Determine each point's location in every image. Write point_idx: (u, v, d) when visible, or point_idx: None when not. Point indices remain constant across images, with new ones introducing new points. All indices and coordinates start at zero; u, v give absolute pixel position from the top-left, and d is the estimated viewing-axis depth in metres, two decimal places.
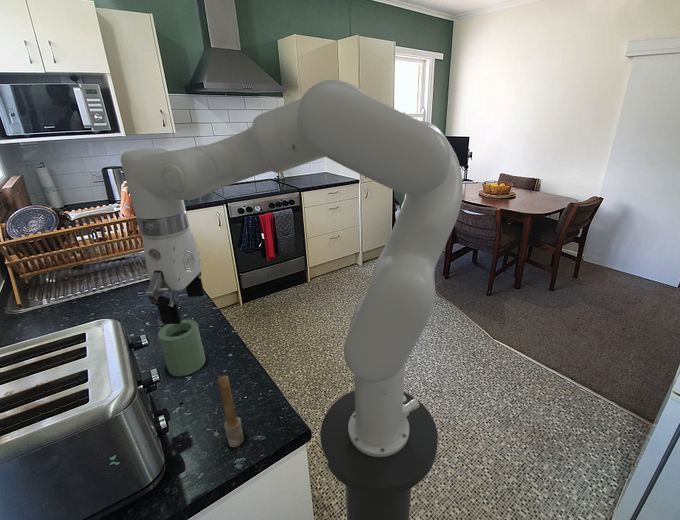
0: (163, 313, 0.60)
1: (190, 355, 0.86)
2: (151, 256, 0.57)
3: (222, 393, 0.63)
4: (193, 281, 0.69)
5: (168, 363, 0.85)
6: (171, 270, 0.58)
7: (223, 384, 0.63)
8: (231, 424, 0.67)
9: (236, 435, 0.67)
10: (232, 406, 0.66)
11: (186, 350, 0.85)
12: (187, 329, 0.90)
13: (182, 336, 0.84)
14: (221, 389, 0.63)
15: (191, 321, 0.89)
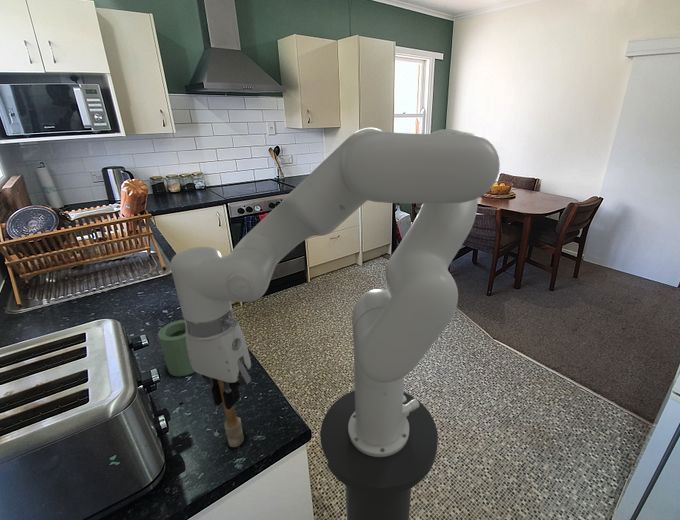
0: (233, 396, 0.63)
1: None
2: None
3: (222, 393, 0.63)
4: None
5: (168, 363, 0.85)
6: (247, 350, 0.61)
7: None
8: (231, 424, 0.67)
9: (236, 435, 0.67)
10: (232, 406, 0.66)
11: (186, 350, 0.85)
12: None
13: (182, 336, 0.84)
14: (221, 389, 0.63)
15: None
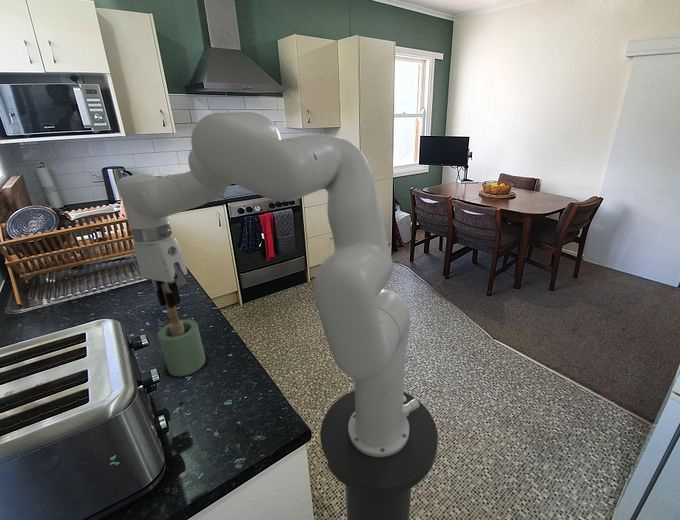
0: (173, 297, 0.81)
1: (190, 355, 0.86)
2: None
3: None
4: None
5: (168, 363, 0.85)
6: (183, 259, 0.79)
7: None
8: (174, 323, 0.84)
9: (178, 332, 0.85)
10: (174, 308, 0.83)
11: (186, 350, 0.85)
12: (187, 329, 0.90)
13: (182, 336, 0.84)
14: (164, 291, 0.81)
15: (191, 321, 0.89)
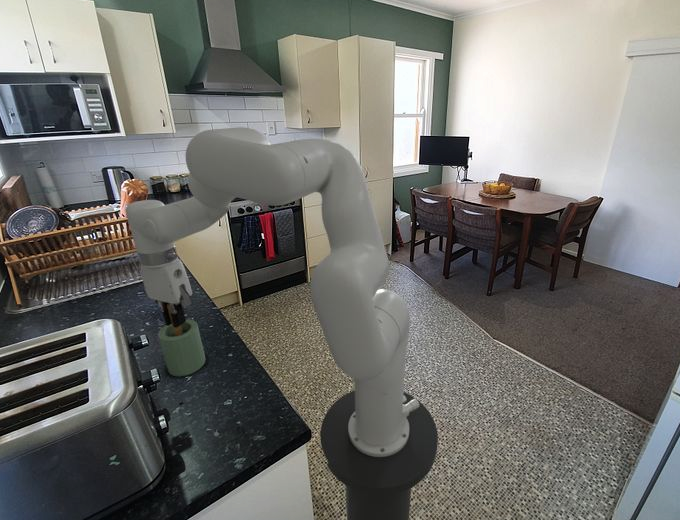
0: (179, 317, 0.83)
1: (190, 355, 0.86)
2: None
3: (170, 315, 0.84)
4: None
5: (168, 363, 0.85)
6: (188, 280, 0.81)
7: None
8: None
9: None
10: (179, 327, 0.86)
11: (186, 350, 0.85)
12: (187, 329, 0.90)
13: (182, 336, 0.84)
14: (169, 312, 0.83)
15: (191, 321, 0.89)
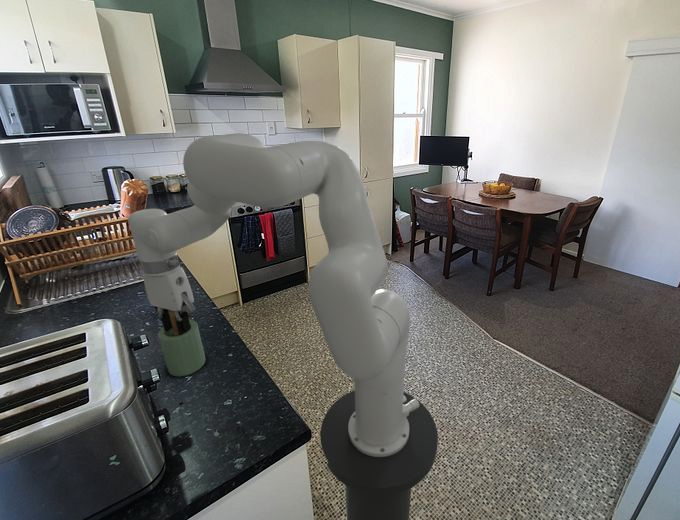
0: (184, 324, 0.84)
1: (190, 355, 0.86)
2: None
3: (172, 321, 0.84)
4: None
5: (168, 363, 0.85)
6: (190, 288, 0.82)
7: (172, 314, 0.83)
8: None
9: None
10: None
11: (186, 350, 0.85)
12: None
13: (182, 336, 0.84)
14: (171, 318, 0.84)
15: (191, 321, 0.89)
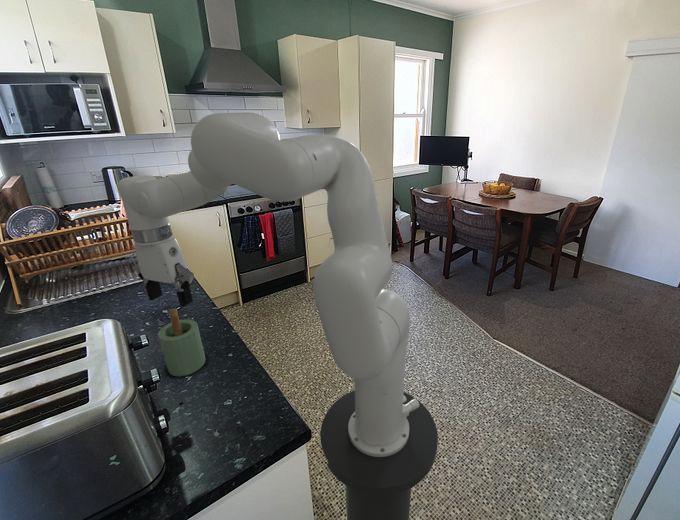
0: (185, 295, 0.79)
1: (190, 355, 0.86)
2: None
3: (172, 321, 0.84)
4: (154, 284, 0.83)
5: (168, 363, 0.85)
6: (184, 260, 0.79)
7: (172, 314, 0.83)
8: None
9: None
10: (181, 333, 0.86)
11: (186, 350, 0.85)
12: (187, 329, 0.90)
13: (182, 336, 0.84)
14: (171, 318, 0.84)
15: (191, 321, 0.89)
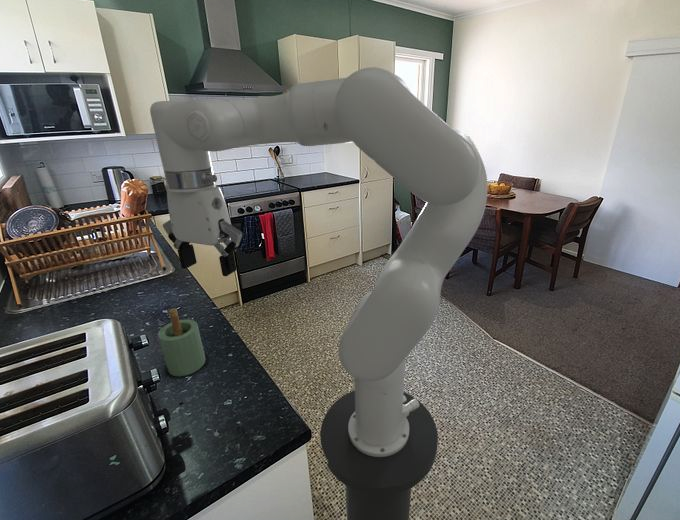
0: (230, 262, 0.63)
1: (190, 355, 0.86)
2: None
3: (172, 321, 0.84)
4: (188, 249, 0.66)
5: (168, 363, 0.85)
6: (228, 216, 0.62)
7: (172, 314, 0.83)
8: None
9: None
10: (181, 333, 0.86)
11: (186, 350, 0.85)
12: (187, 329, 0.90)
13: (182, 336, 0.84)
14: (171, 318, 0.84)
15: (191, 321, 0.89)
